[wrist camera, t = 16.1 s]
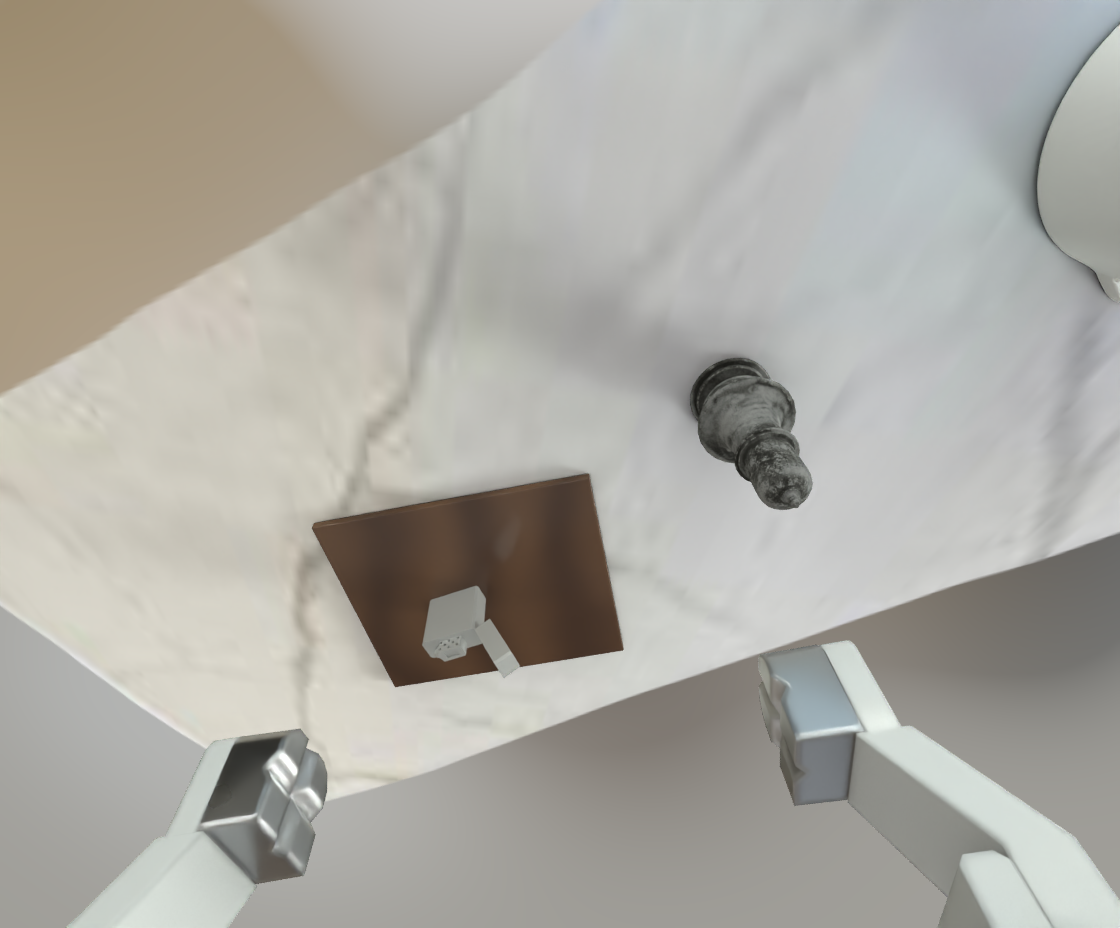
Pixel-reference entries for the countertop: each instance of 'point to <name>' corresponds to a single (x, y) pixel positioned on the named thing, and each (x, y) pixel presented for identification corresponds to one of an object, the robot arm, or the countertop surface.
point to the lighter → (464, 629)
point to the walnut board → (480, 575)
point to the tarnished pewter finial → (752, 429)
